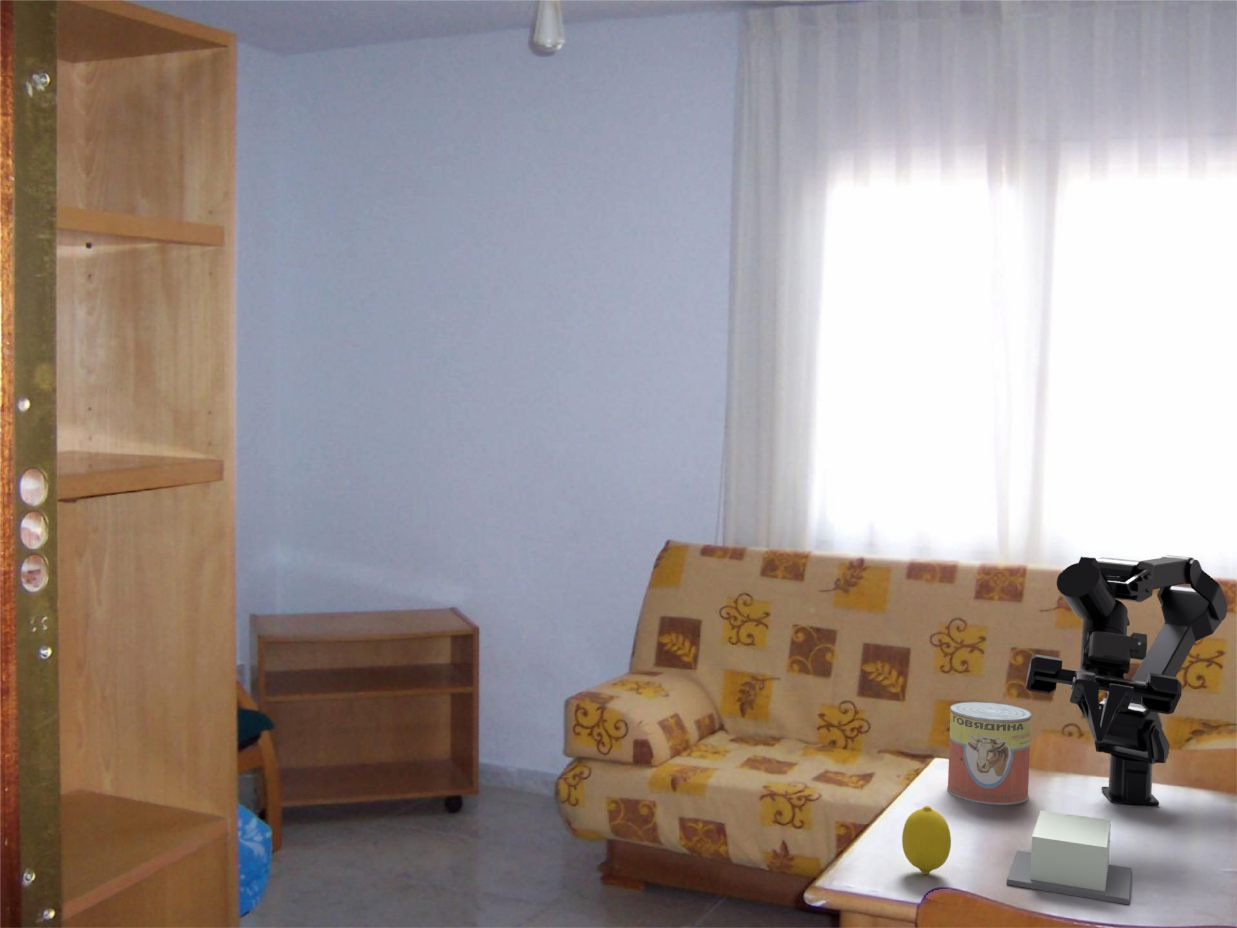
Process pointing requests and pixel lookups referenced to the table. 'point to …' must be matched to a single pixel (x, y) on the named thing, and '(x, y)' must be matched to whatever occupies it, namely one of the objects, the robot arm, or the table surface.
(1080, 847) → the sage block
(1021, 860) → the mat
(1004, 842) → the table surface
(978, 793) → the canned food
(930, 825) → the lemon
